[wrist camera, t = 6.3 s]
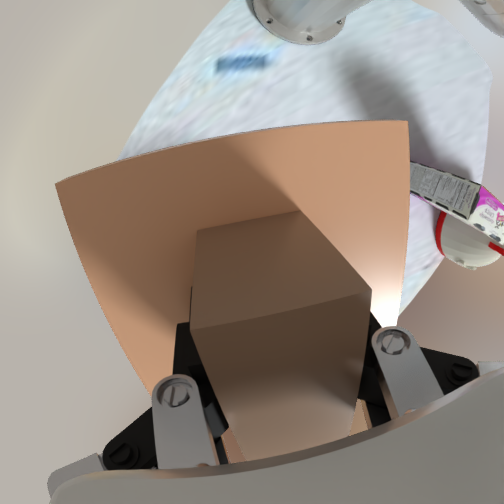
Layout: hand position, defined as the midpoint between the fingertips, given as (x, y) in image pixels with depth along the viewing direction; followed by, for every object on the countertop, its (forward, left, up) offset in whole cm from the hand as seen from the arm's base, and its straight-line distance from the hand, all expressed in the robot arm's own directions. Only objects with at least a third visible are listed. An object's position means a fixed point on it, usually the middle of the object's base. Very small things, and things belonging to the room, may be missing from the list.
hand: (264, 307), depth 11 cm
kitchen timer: (+15, +42, -29) cm, 54 cm away
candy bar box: (+6, +31, -29) cm, 43 cm away
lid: (0, 0, -3) cm, 3 cm away
